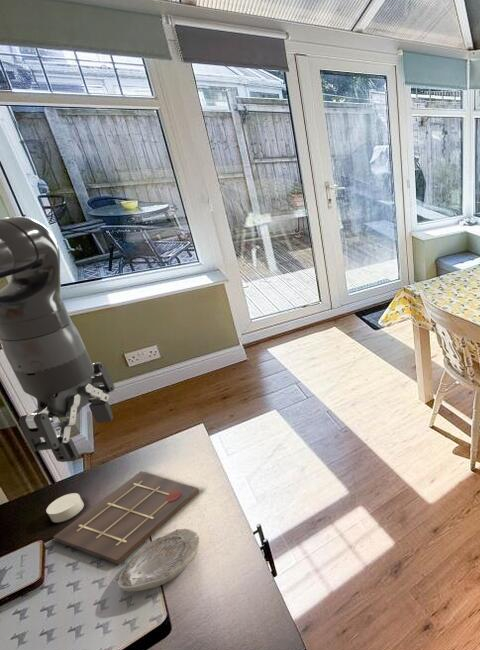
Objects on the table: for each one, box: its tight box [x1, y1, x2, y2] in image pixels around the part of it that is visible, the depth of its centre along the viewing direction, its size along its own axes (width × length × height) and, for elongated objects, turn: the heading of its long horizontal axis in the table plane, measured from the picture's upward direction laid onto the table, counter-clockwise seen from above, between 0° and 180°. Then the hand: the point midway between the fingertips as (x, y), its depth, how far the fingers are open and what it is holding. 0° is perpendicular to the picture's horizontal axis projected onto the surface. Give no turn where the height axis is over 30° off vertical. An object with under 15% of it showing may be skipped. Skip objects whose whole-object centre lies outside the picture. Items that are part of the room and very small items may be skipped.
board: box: [53, 470, 200, 565], centre depth 83 cm, size 16×16×1 cm
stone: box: [45, 492, 85, 523], centre depth 83 cm, size 5×5×2 cm
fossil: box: [117, 528, 200, 592], centre depth 74 cm, size 10×12×3 cm
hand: (88, 439), depth 67 cm, fingers open, 8 cm apart
